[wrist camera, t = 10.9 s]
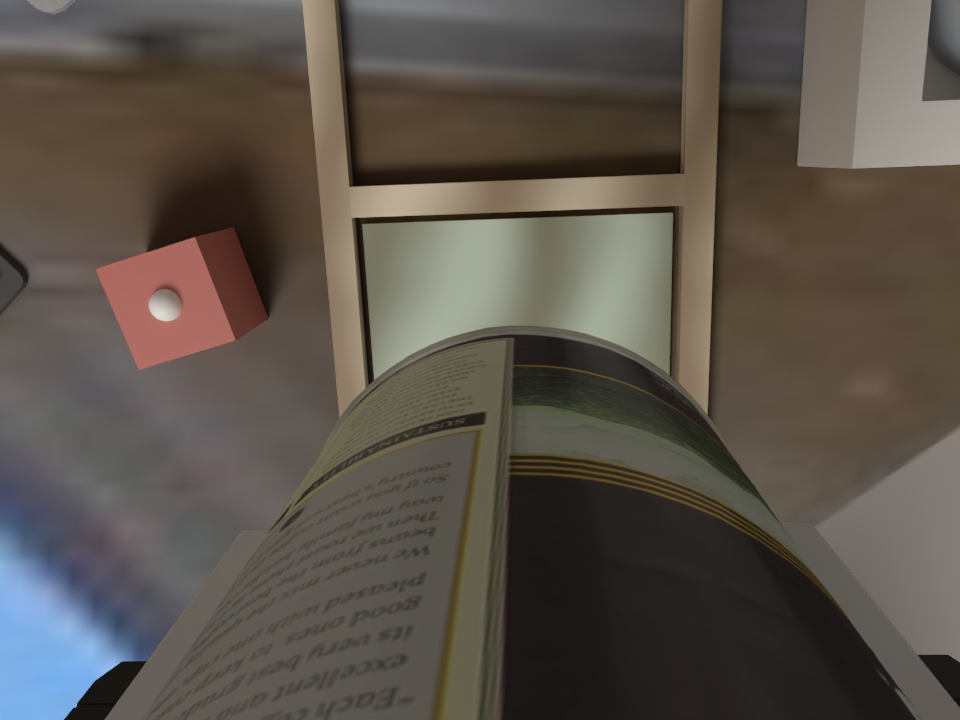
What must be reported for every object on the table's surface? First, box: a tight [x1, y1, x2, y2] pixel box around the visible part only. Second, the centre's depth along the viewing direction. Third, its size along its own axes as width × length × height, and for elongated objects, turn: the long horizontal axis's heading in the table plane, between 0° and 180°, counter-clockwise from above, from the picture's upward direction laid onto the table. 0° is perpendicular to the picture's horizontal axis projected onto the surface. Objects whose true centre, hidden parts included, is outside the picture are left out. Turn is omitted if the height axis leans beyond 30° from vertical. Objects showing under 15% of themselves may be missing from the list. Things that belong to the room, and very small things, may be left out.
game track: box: [302, 0, 722, 417], centre depth 31 cm, size 15×30×1 cm, turn 2°
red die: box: [96, 227, 268, 370], centre depth 31 cm, size 4×4×5 cm
